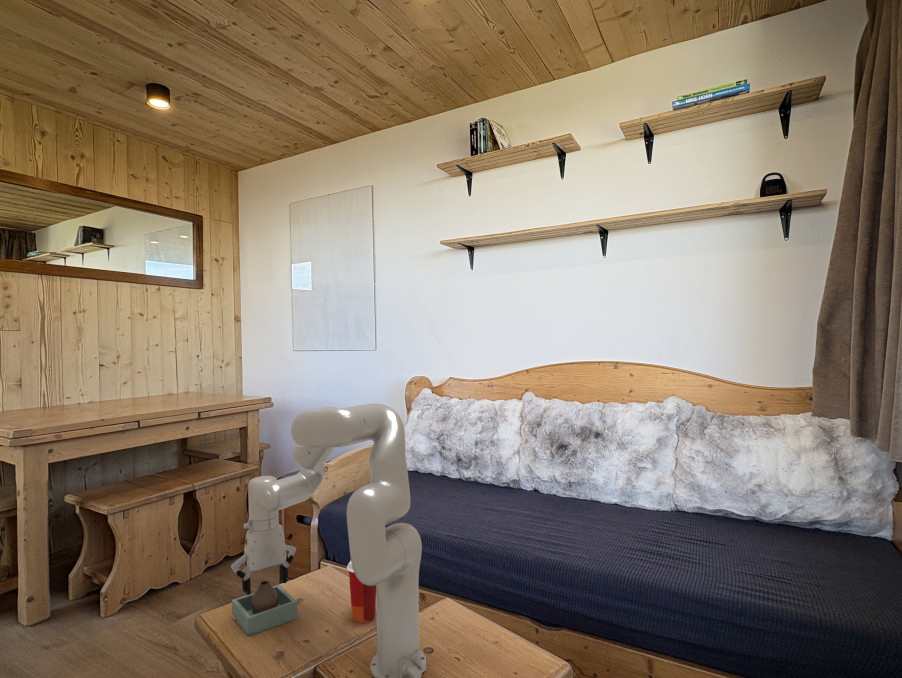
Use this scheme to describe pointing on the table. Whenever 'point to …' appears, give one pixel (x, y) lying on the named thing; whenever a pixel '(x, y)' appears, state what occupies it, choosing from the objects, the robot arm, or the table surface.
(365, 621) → the coffee cup
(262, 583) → the vase
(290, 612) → the bin
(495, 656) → the table surface
